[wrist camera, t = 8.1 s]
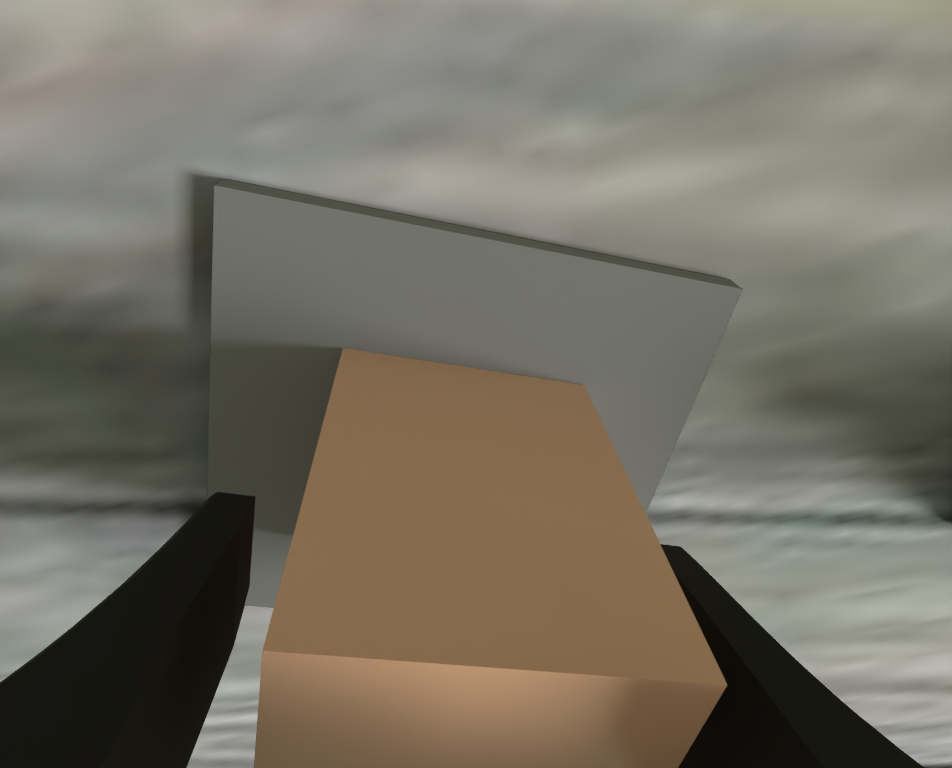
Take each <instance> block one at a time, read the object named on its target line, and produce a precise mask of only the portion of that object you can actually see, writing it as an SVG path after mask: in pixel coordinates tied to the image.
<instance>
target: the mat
mask: <svg viewBox="0 0 952 768" xmlns="http://www.w3.org/2000/svg"><path fill="white" fill-rule="evenodd" d="M741 292H742V288H740V287H739V286H738V285H736V284H735V283H734V282H732V281H731V280H730V279H725V278H720V277H715V276H710V275H705V274H700V273H695V272H690V271H685V270H680V269H675V268H670V267H665V266H660V265H655V264H650V263H645V262H640V261H635V260H630V259H625V258H620V257H615V256H610V255H605V254H600V253H595V252H590V251H584V250H579V249H574V248H569V247H564V246H559V245H554V244H549V243H544V242H539V241H534V240H529V239H524V238H519V237H514V236H509V235H504V234H499V233H494V232H489V231H484V230H479V229H474V228H469V227H464V226H459V225H454V224H449V223H444V222H439V221H434V220H429V219H423V218H418V217H413V216H408V215H403V214H398V213H393V212H388V211H383V210H378V209H373V208H368V207H363V206H358V205H353V204H348V203H343V202H338V201H333V200H328V199H323V198H318V197H313V196H308V195H303V194H298V193H293V192H288V191H283V190H278V189H273V188H267V187H262V186H257V185H252V184H247V183H242V182H237V181H232V180H227V179H223V180H221V181H220V182H218V183H217V184H215V185H214V211H213V254H212V297H211V340H210V383H209V426H208V469H207V499H208V498H209V497H210V496H211V495H213V494H215V493H216V492H223V493H231V494H240V495H248V496H256V498H255V512H254V527H253V542H252V557H251V571H250V586H249V590H248V594H247V598H246V602H245V605H248V606H259V607H270V608H274V606H275V602H276V599H277V595H278V591H279V587H280V583H281V580H282V576H283V572H284V568H285V565H286V561H287V557H288V553H289V549H290V546H291V542H292V538H293V534H294V531H295V527H296V523H297V519H298V515H299V512H300V508H301V504H302V500H303V497H304V493H305V489H306V485H307V481H308V478H309V474H310V470H311V466H312V463H313V459H314V455H315V451H316V447H317V444H318V440H319V436H320V432H321V428H322V425H323V421H324V417H325V413H326V410H327V406H328V402H329V398H330V394H331V391H332V387H333V383H334V379H335V376H336V372H337V368H338V364H339V360H340V357H341V353H342V349H343V348H347V349H353V350H360V351H366V352H373V353H379V354H386V355H392V356H399V357H405V358H412V359H419V360H425V361H432V362H438V363H445V364H451V365H458V366H464V367H471V368H477V369H484V370H490V371H497V372H503V373H510V374H516V375H523V376H529V377H536V378H543V379H549V380H556V381H562V382H569V383H575V384H582V385H584V386H585V388H586V390H587V392H588V394H589V396H590V399H591V401H592V403H593V405H594V407H595V409H596V411H597V413H598V415H599V417H600V419H601V422H602V424H603V426H604V428H605V430H606V432H607V434H608V436H609V438H610V440H611V442H612V445H613V447H614V449H615V451H616V453H617V455H618V457H619V459H620V461H621V463H622V465H623V468H624V470H625V472H626V474H627V476H628V478H629V480H630V482H631V484H632V486H633V488H634V491H635V493H636V495H637V497H638V499H639V501H640V503H641V505H642V507H643V509H644V511H645V514H646V512H647V509H648V507H649V505H650V502H651V500H652V498H653V495H654V493H655V491H656V489H657V486H658V484H659V482H660V479H661V477H662V475H663V472H664V470H665V468H666V465H667V463H668V461H669V458H670V456H671V454H672V451H673V449H674V447H675V444H676V442H677V440H678V438H679V435H680V433H681V431H682V428H683V426H684V424H685V421H686V419H687V417H688V414H689V412H690V410H691V407H692V405H693V403H694V400H695V398H696V396H697V393H698V391H699V389H700V387H701V384H702V382H703V380H704V377H705V375H706V373H707V370H708V368H709V366H710V363H711V361H712V359H713V356H714V354H715V352H716V349H717V347H718V345H719V343H720V340H721V338H722V336H723V333H724V331H725V329H726V326H727V324H728V322H729V319H730V317H731V315H732V312H733V310H734V308H735V305H736V303H737V301H738V298H739V296H740V294H741Z"/></svg>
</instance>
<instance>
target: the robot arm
mask: <svg viewBox="0 0 952 768" xmlns="http://www.w3.org/2000/svg"><path fill="white" fill-rule="evenodd" d="M255 498H256V496H248V495H240V494H231V493H223V492H216V493H215V494H213V495H211V496H210V497H209V498H208V499H207V500H206V501H205V502H204V504H203V505H202V506H201V507H200V508H199V509H198V510H197V511H196V512H195V513H194V514H193V515H192V517H191V518H190V519H189V520H188V521H187V522H186V523H185V524H184V525H183V526H182V527H181V528H180V529H179V530H178V531H177V532H176V533H175V534H174V535H173V536H172V537H171V538H170V539H169V540H168V541H167V542H166V543H165V544H164V545H163V546H162V547H161V548H160V549H159V550H158V551H157V552H156V553H155V554H154V555H153V556H152V557H151V558H150V559H149V560H148V561H146V562H145V563H144V564H143V565H142V566H141V567H140V568H139V569H138V570H137V571H136V572H135V573H134V574H133V575H132V576H131V577H129V578H128V579H127V580H126V581H125V582H124V583H123V584H122V585H121V586H120V587H119V588H117V589H116V590H115V591H114V592H113V593H112V594H111V595H109V596H108V597H107V598H106V599H105V600H103V601H102V602H101V603H100V604H99V605H98V606H96V607H95V608H94V609H93V610H92V611H91V612H89V613H88V614H87V615H86V616H85V617H84V618H82V619H81V620H80V621H79V622H78V623H77V624H75V625H74V626H73V627H72V628H71V629H69V630H68V631H67V632H66V633H64V634H63V635H62V636H61V637H59V638H58V639H57V640H56V641H54V642H53V643H52V644H51V645H49V646H48V647H47V648H45V649H44V650H43V651H42V652H40V653H39V654H38V655H36V656H35V657H34V658H32V659H31V660H30V661H29V662H27V663H26V664H24V665H23V666H22V667H20V668H19V669H18V670H16V671H15V672H14V673H12V674H11V675H10V676H8V677H7V678H6V679H4V680H3V681H2V682H0V768H186V767H187V765H188V762H189V759H190V757H191V754H192V752H193V749H194V747H195V744H196V741H197V739H198V736H199V734H200V731H201V729H202V726H203V724H204V721H205V718H206V716H207V713H208V711H209V708H210V706H211V703H212V700H213V698H214V695H215V693H216V690H217V688H218V685H219V682H220V680H221V677H222V675H223V672H224V669H225V667H226V664H227V662H228V659H229V656H230V654H231V651H232V649H233V646H234V642H235V639H236V635H237V631H238V628H239V624H240V621H241V617H242V613H243V609H244V606H245V602H246V598H247V594H248V590H249V586H250V571H251V557H252V542H253V527H254V512H255ZM660 545H661V547H662V549H663V551H664V553H665V555H666V557H667V560H668V562H669V564H670V566H671V568H672V570H673V572H674V574H675V576H676V578H677V580H678V583H679V585H680V587H681V589H682V591H683V593H684V595H685V597H686V599H687V601H688V603H689V606H690V608H691V610H692V612H693V614H694V616H695V618H696V620H697V622H698V624H699V626H700V629H701V631H702V633H703V635H704V637H705V639H706V641H707V643H708V645H709V647H710V649H711V652H712V654H713V656H714V658H715V660H716V662H717V664H718V666H719V668H720V670H721V672H722V675H723V677H724V679H725V681H726V683H727V687H726V688H725V690H724V692H723V693H722V695H721V697H720V698H719V700H718V702H717V703H716V705H715V707H714V708H713V710H712V712H711V713H710V715H709V717H708V719H707V720H706V722H705V724H704V725H703V727H702V729H701V730H700V732H699V734H698V735H697V737H696V739H695V740H694V742H693V744H692V745H691V747H690V749H689V750H688V752H687V754H686V755H685V757H684V759H683V760H682V762H681V764H680V765H679V767H678V768H924V767H923V766H921V765H920V764H919V763H917V762H916V761H915V760H913V759H912V758H911V757H910V756H908V755H907V754H906V753H904V752H903V751H902V750H900V749H899V748H898V747H897V746H895V745H894V744H893V743H892V742H891V741H889V740H888V739H887V738H886V737H884V736H883V735H882V734H881V733H879V732H878V731H877V730H876V729H875V728H873V727H872V726H871V725H870V724H868V723H867V722H866V721H865V720H863V719H862V718H861V717H860V716H859V715H857V714H856V713H855V712H854V711H853V710H851V709H850V708H849V707H848V706H847V705H846V704H844V703H843V702H842V701H841V700H840V699H839V698H837V697H836V696H835V695H834V694H833V693H832V692H831V691H830V690H829V689H827V688H826V687H825V686H824V685H823V684H822V683H821V682H820V681H819V680H818V679H816V678H815V677H814V676H813V675H812V674H811V673H810V672H809V671H808V670H807V669H805V668H804V667H803V666H802V665H801V664H800V663H799V662H798V661H797V660H796V659H795V658H794V657H793V656H792V655H790V654H789V653H788V652H787V651H786V650H785V649H784V648H783V647H782V646H781V645H780V644H779V643H778V642H777V641H776V640H775V639H774V638H773V637H772V636H771V635H770V634H769V633H768V632H767V631H766V630H765V629H764V628H763V627H762V626H761V625H760V624H759V623H758V622H756V621H755V620H754V619H753V618H752V617H751V616H750V615H749V614H748V613H747V612H746V611H745V610H744V608H743V607H742V606H741V605H740V604H739V603H738V602H737V601H736V600H735V599H734V598H733V597H732V596H731V595H730V594H729V593H728V592H727V591H726V590H725V589H724V588H723V587H722V586H721V585H720V584H719V583H718V582H717V581H716V580H715V579H714V578H713V577H712V576H711V575H710V574H709V573H708V572H707V571H706V570H705V569H704V568H703V567H702V566H701V565H700V564H699V563H698V562H697V561H696V560H694V559H693V558H692V557H691V556H690V555H689V554H688V553H687V552H686V551H685V550H684V549H683V548H681V547H679V546H671V545H662V544H660Z"/></svg>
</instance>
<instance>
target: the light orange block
mask: <svg viewBox="0 0 952 768" xmlns="http://www.w3.org/2000/svg"><path fill="white" fill-rule="evenodd" d="M726 687H727V683H726V681H725V679H724V677H723V675H722V672H721V670H720V668H719V666H718V664H717V662H716V660H715V658H714V656H713V654H712V652H711V649H710V647H709V645H708V643H707V641H706V639H705V637H704V635H703V633H702V631H701V629H700V626H699V624H698V622H697V620H696V618H695V616H694V614H693V612H692V610H691V608H690V606H689V603H688V601H687V599H686V597H685V595H684V593H683V591H682V589H681V587H680V585H679V583H678V580H677V578H676V576H675V574H674V572H673V570H672V568H671V566H670V564H669V562H668V560H667V557H666V555H665V553H664V551H663V549H662V547H661V545H660V543H659V541H658V539H657V537H656V534H655V532H654V530H653V528H652V526H651V524H650V522H649V520H648V518H647V516H646V514H645V511H644V509H643V507H642V505H641V503H640V501H639V499H638V497H637V495H636V493H635V491H634V488H633V486H632V484H631V482H630V480H629V478H628V476H627V474H626V472H625V470H624V468H623V465H622V463H621V461H620V459H619V457H618V455H617V453H616V451H615V449H614V447H613V445H612V442H611V440H610V438H609V436H608V434H607V432H606V430H605V428H604V426H603V424H602V422H601V419H600V417H599V415H598V413H597V411H596V409H595V407H594V405H593V403H592V401H591V399H590V396H589V394H588V392H587V390H586V388H585V386H584V385H582V384H575V383H569V382H562V381H556V380H549V379H543V378H536V377H529V376H523V375H516V374H510V373H503V372H497V371H490V370H484V369H477V368H471V367H464V366H458V365H451V364H445V363H438V362H432V361H425V360H419V359H412V358H405V357H399V356H392V355H386V354H379V353H373V352H366V351H360V350H353V349H347V348H343V349H342V353H341V357H340V360H339V364H338V368H337V372H336V376H335V379H334V383H333V387H332V391H331V394H330V398H329V402H328V406H327V410H326V413H325V417H324V421H323V425H322V428H321V432H320V436H319V440H318V444H317V447H316V451H315V455H314V459H313V463H312V466H311V470H310V474H309V478H308V481H307V485H306V489H305V493H304V497H303V500H302V504H301V508H300V512H299V515H298V519H297V523H296V527H295V531H294V534H293V538H292V542H291V546H290V549H289V553H288V557H287V561H286V565H285V568H284V572H283V576H282V580H281V583H280V587H279V591H278V595H277V599H276V602H275V606H274V610H273V614H272V617H271V621H270V625H269V629H268V633H267V636H266V640H265V644H264V648H263V653H262V666H261V680H260V693H259V707H258V721H257V734H256V748H255V761H254V768H678V767H679V765H680V764H681V762H682V760H683V759H684V757H685V755H686V754H687V752H688V750H689V749H690V747H691V745H692V744H693V742H694V740H695V739H696V737H697V735H698V734H699V732H700V730H701V729H702V727H703V725H704V724H705V722H706V720H707V719H708V717H709V715H710V713H711V712H712V710H713V708H714V707H715V705H716V703H717V702H718V700H719V698H720V697H721V695H722V693H723V692H724V690H725V688H726Z"/></svg>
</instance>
